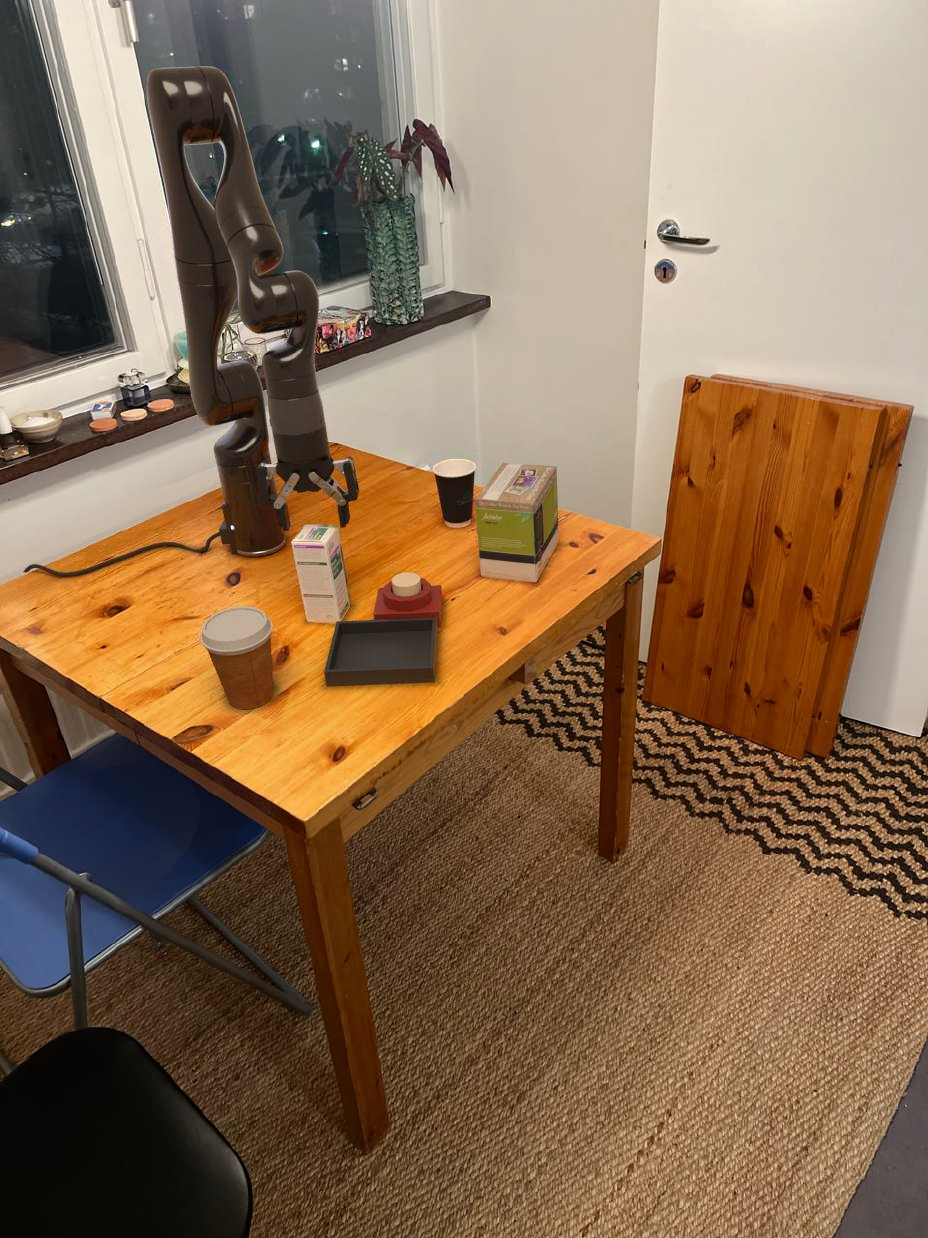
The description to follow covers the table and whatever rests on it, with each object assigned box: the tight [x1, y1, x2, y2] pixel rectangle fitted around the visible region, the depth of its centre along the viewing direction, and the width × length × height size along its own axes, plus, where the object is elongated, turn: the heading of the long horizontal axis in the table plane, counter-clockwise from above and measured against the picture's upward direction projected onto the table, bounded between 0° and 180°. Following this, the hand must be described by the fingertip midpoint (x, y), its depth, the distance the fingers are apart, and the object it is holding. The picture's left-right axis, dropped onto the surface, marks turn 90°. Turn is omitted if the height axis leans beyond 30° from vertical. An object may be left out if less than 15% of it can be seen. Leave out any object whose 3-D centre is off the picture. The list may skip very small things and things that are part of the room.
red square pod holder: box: [373, 577, 443, 629], centre depth 142 cm, size 10×8×5 cm
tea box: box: [474, 462, 560, 583], centre depth 152 cm, size 15×10×15 cm, turn 160°
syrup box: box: [290, 523, 352, 625], centre depth 141 cm, size 6×6×14 cm
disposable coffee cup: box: [199, 606, 275, 710], centre depth 124 cm, size 10×10×12 cm
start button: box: [391, 572, 421, 597], centre depth 140 cm, size 4×4×2 cm
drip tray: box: [323, 617, 439, 688], centre depth 133 cm, size 15×13×3 cm
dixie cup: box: [432, 458, 477, 529], centre depth 167 cm, size 8×8×11 cm
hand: (315, 527), depth 136 cm, fingers open, 8 cm apart
